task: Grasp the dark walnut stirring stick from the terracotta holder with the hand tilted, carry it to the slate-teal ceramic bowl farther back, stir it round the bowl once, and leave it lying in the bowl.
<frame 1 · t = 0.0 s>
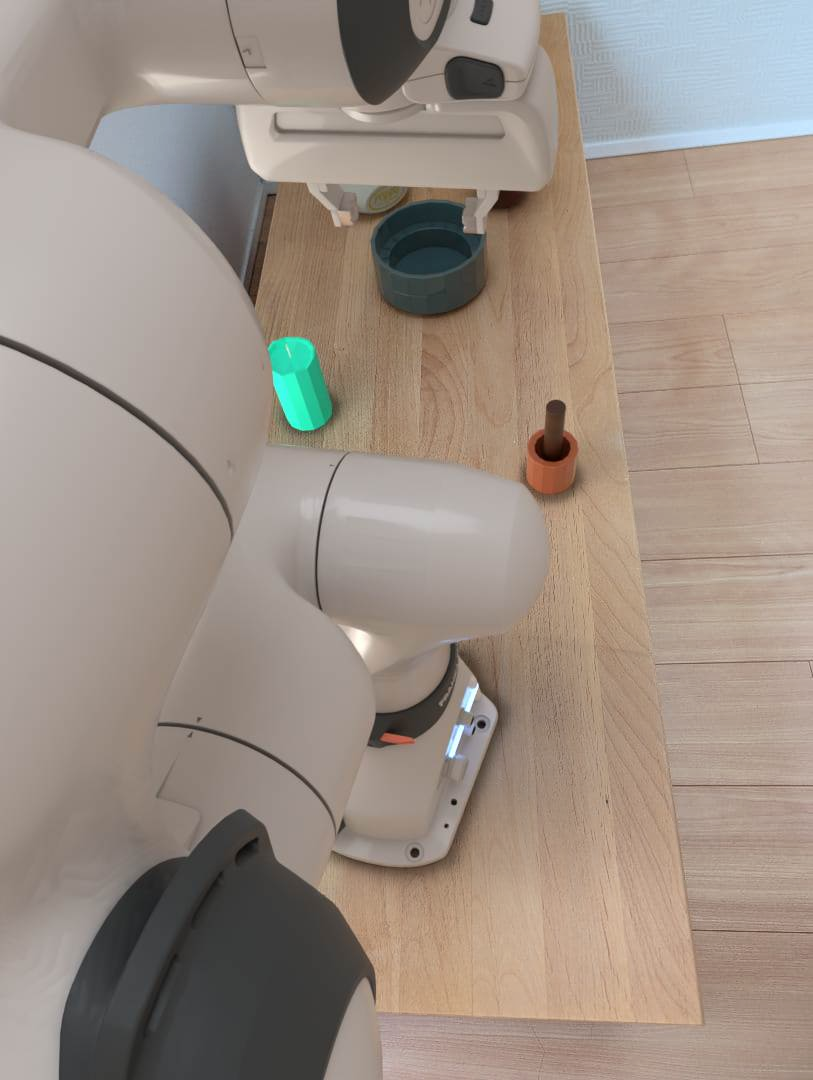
hand: (410, 223, 56), 39 cm above the table, tool pointing down, fingers open, 8 cm apart
bowl: (432, 278, 108), on the table
stick: (550, 474, 89), point 1 cm above the table, touching holder
air freshener: (375, 201, 118), on the table
ice cream bowl: (502, 197, 116), on the table
candle: (309, 413, 99), on the table
holder: (550, 478, 90), on the table
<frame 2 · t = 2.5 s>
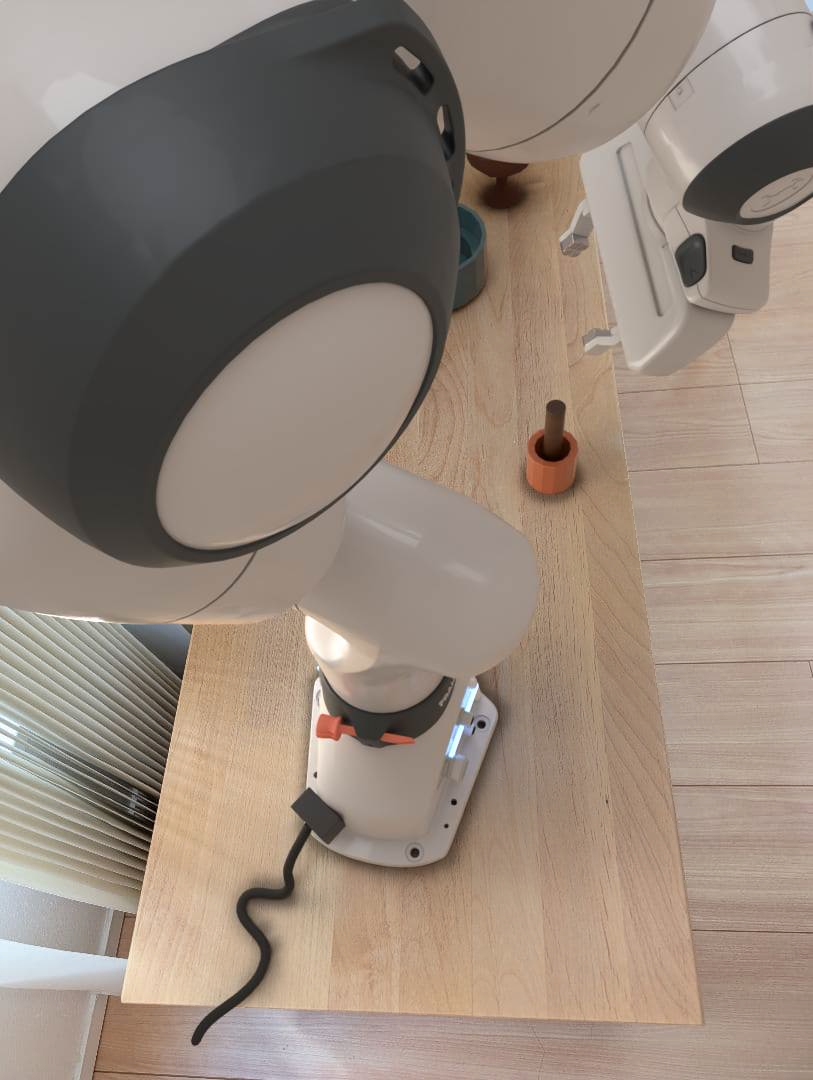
hand: (577, 297, 66), 27 cm above the table, tool tilted 35°, fingers open, 8 cm apart
nothing on the table moved.
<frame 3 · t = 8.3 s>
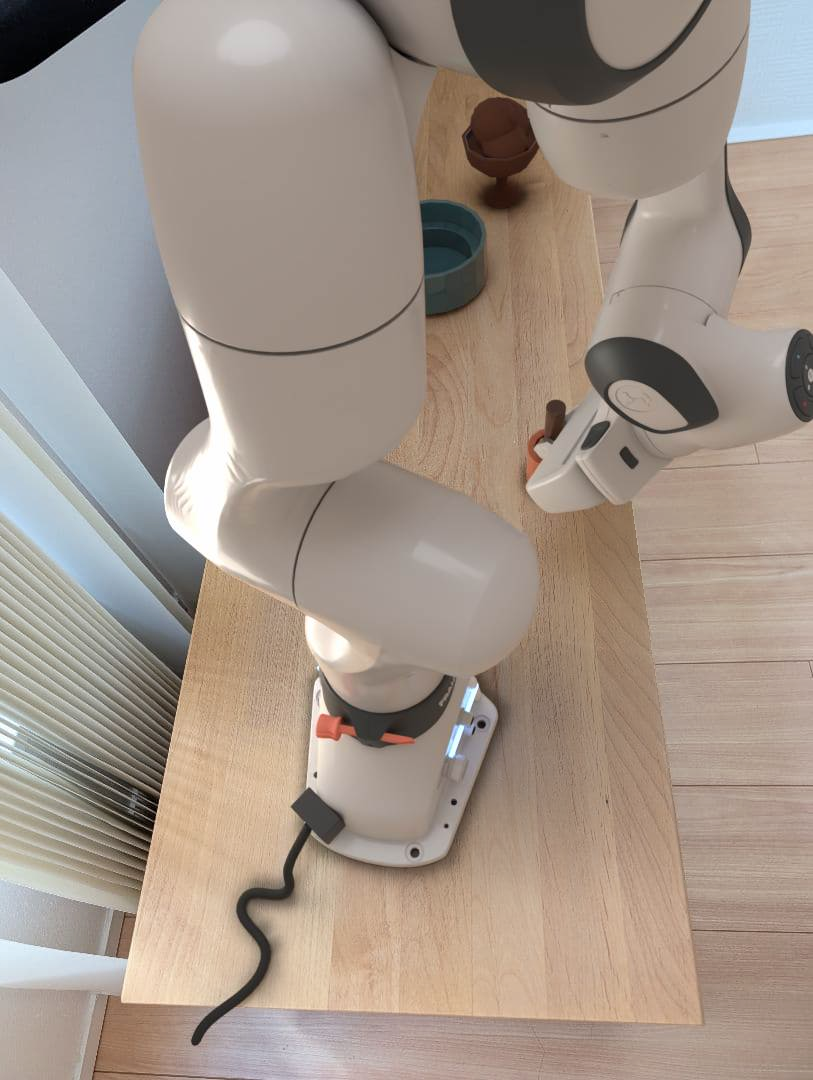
hand: (547, 438, 84), 7 cm above the table, tool tilted 45°, fingers closed on stick, 2 cm apart
stick: (550, 474, 89), point 1 cm above the table, touching gripper, holder
everything else where it was.
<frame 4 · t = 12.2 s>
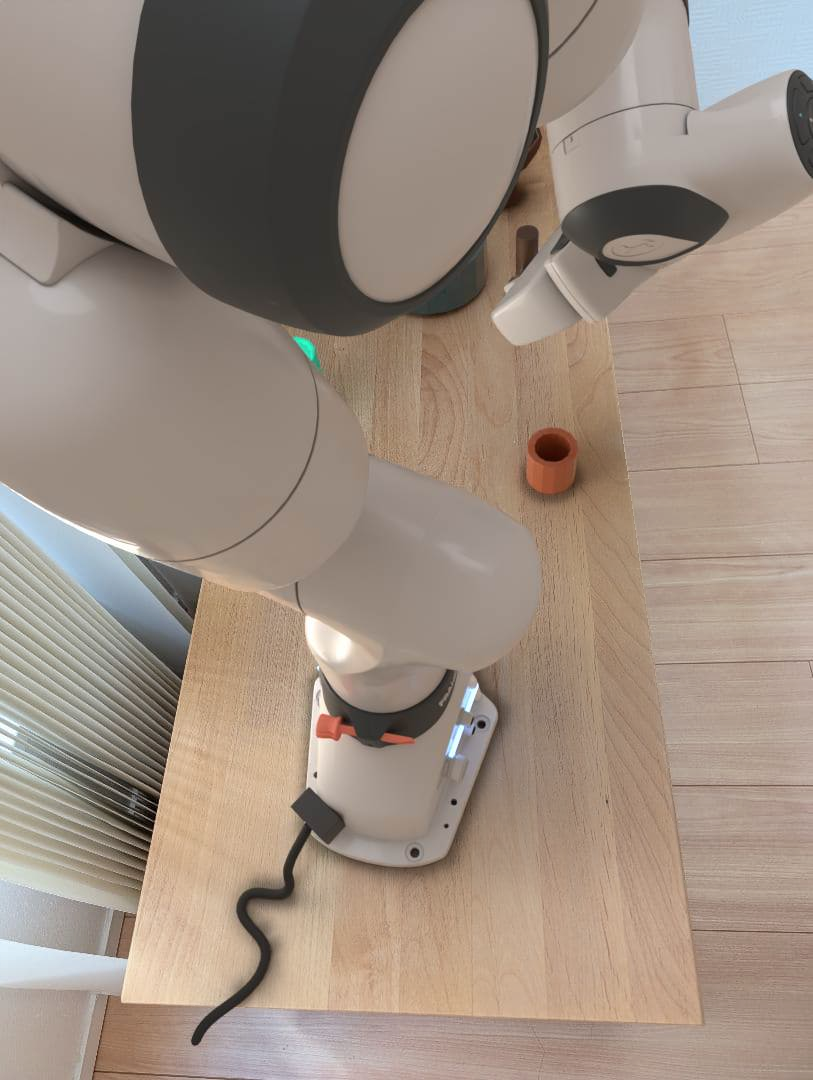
hand: (520, 279, 75), 23 cm above the table, tool tilted 45°, fingers closed on stick
stick: (525, 329, 80), point 16 cm above the table, touching gripper
everything else where it was.
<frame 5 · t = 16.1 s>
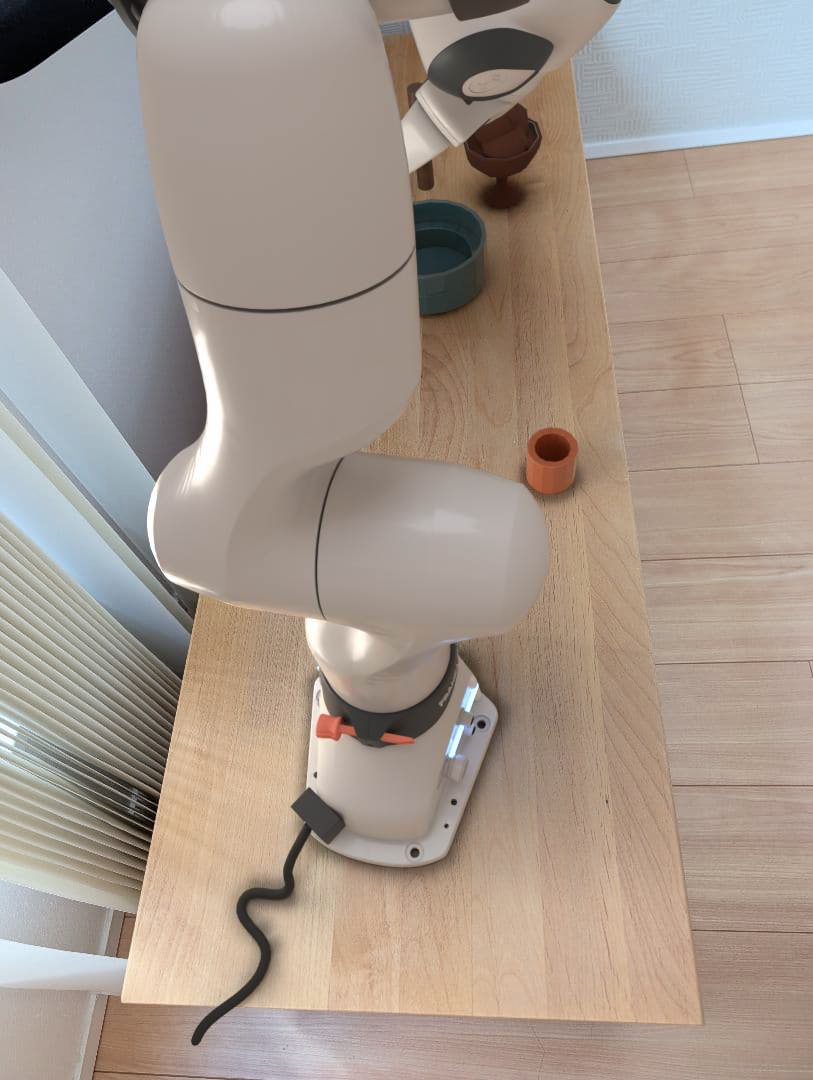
hand: (416, 135, 89), 22 cm above the table, tool tilted 45°, fingers closed on stick
stick: (426, 185, 95), point 15 cm above the table, touching gripper
everything else where it was.
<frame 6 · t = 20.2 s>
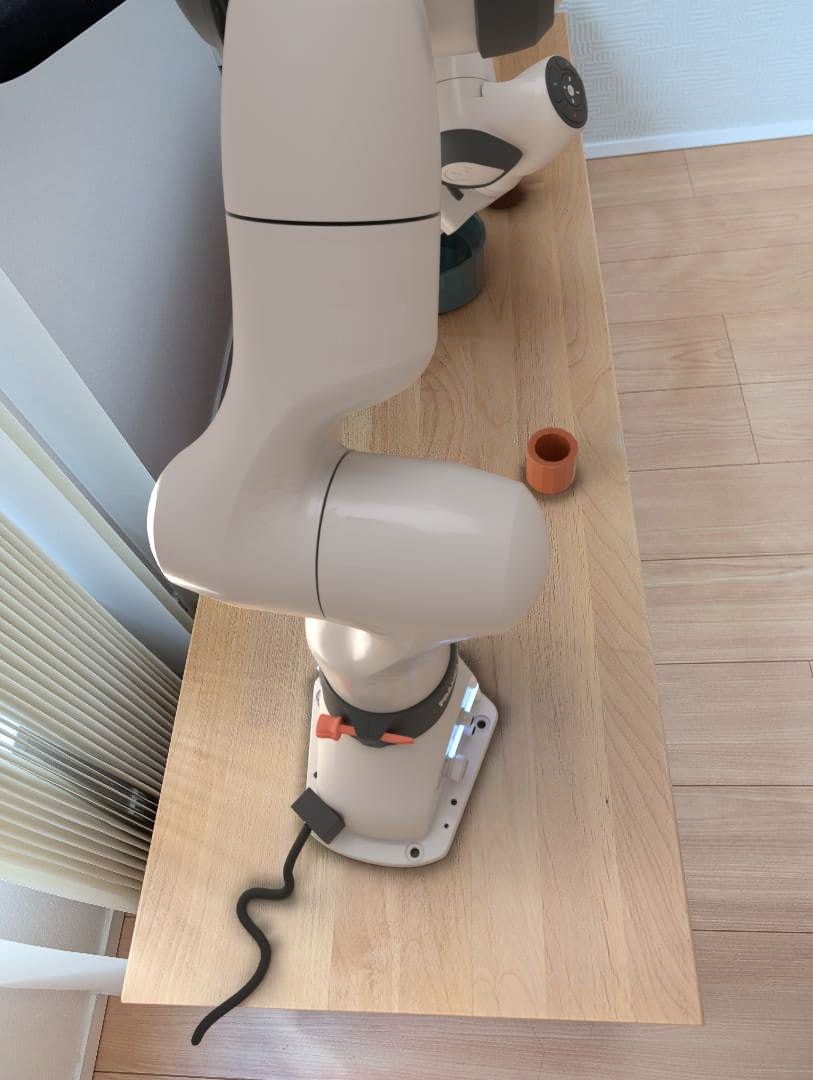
hand: (413, 214, 102), 9 cm above the table, tool tilted 45°, fingers closed on stick, 2 cm apart
stick: (422, 255, 107), point 3 cm above the table, touching gripper
everything else where it was.
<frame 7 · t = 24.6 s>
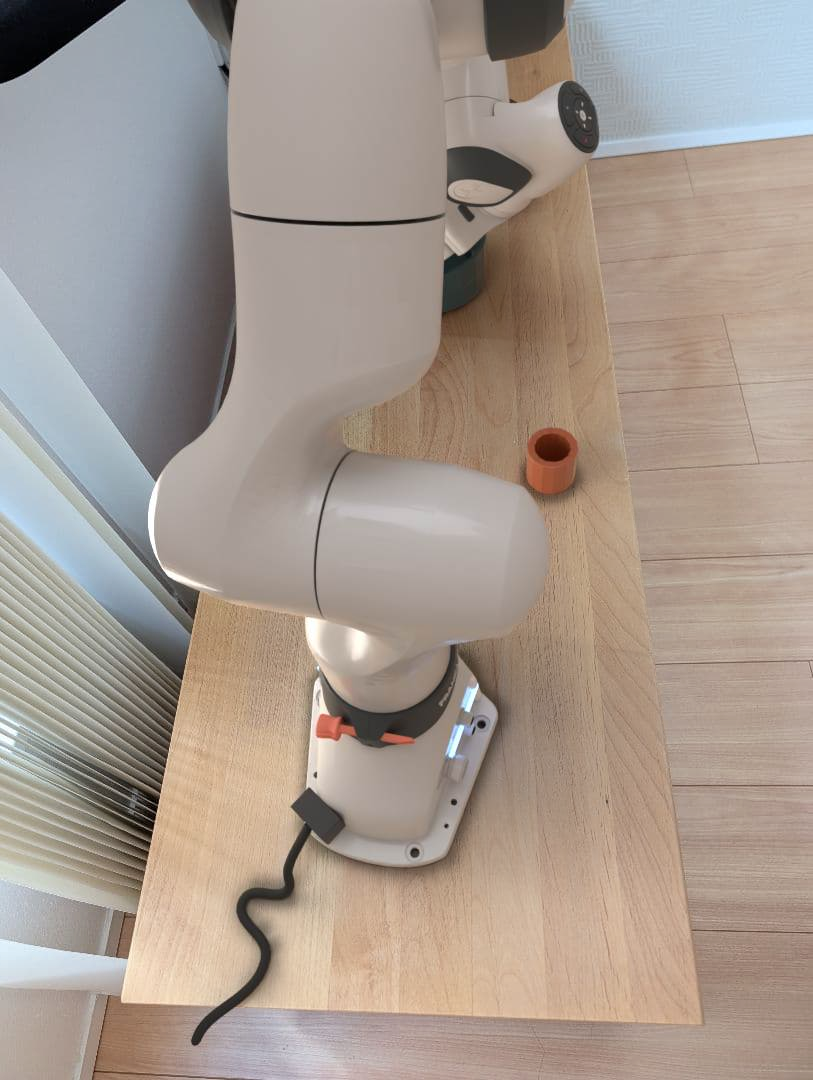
hand: (423, 232, 102), 8 cm above the table, tool tilted 45°, fingers open, 8 cm apart
stick: (432, 273, 108), point 1 cm above the table, touching bowl
everything else where it was.
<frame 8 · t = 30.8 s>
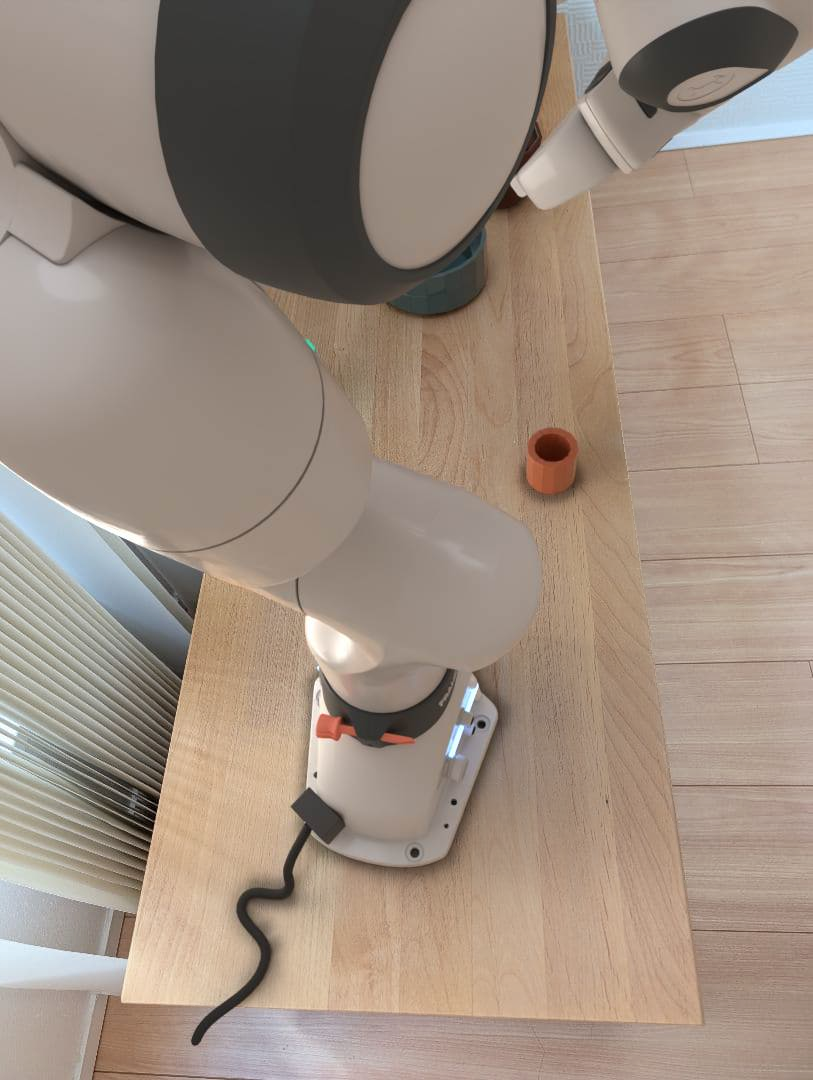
hand: (544, 154, 70), 31 cm above the table, tool tilted 45°, fingers open, 8 cm apart
nothing on the table moved.
at the end: stick inside the target area in the bowl (0.1 cm from its centre), point 0.8 cm above the bowl's base; stick moved 37.0 cm from its start; the gripper is holding nothing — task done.
